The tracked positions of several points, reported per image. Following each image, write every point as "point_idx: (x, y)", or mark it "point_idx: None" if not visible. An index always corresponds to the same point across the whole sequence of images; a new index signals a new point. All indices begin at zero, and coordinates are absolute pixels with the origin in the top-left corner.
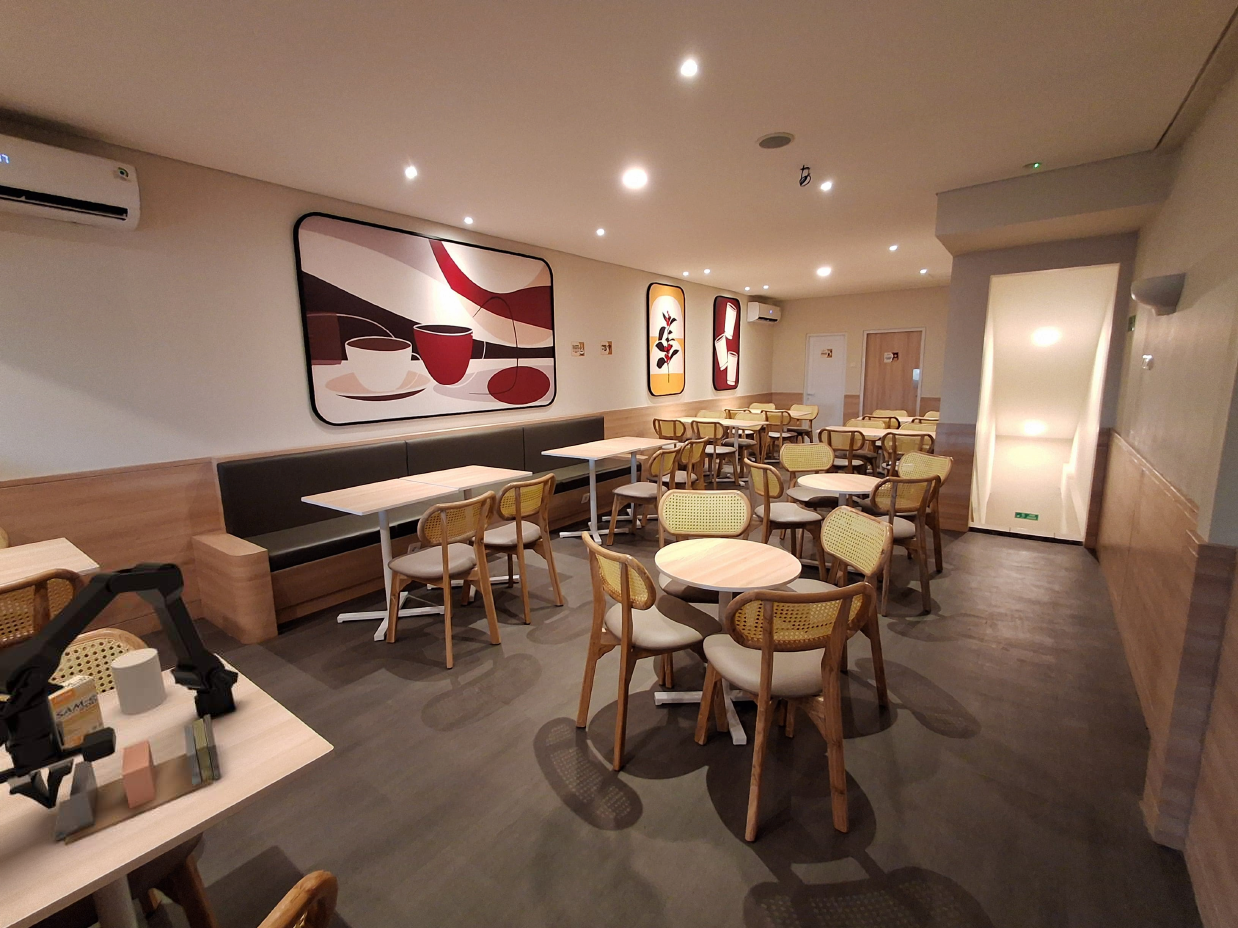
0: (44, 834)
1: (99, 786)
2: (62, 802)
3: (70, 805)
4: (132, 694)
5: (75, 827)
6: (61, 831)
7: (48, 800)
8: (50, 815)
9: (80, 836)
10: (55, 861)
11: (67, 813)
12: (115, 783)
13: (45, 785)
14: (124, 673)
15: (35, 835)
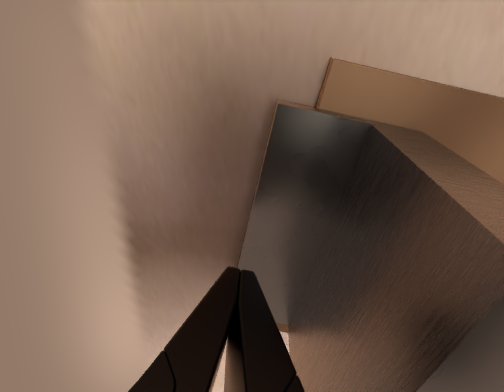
0: (209, 224)
1: (444, 85)
2: (285, 116)
3: (303, 177)
4: None
5: (283, 314)
6: None
7: (221, 358)
8: (233, 115)
9: (285, 331)
10: (225, 347)
11: (282, 224)
12: (492, 136)
13: (208, 387)
14: None
15: (184, 204)
